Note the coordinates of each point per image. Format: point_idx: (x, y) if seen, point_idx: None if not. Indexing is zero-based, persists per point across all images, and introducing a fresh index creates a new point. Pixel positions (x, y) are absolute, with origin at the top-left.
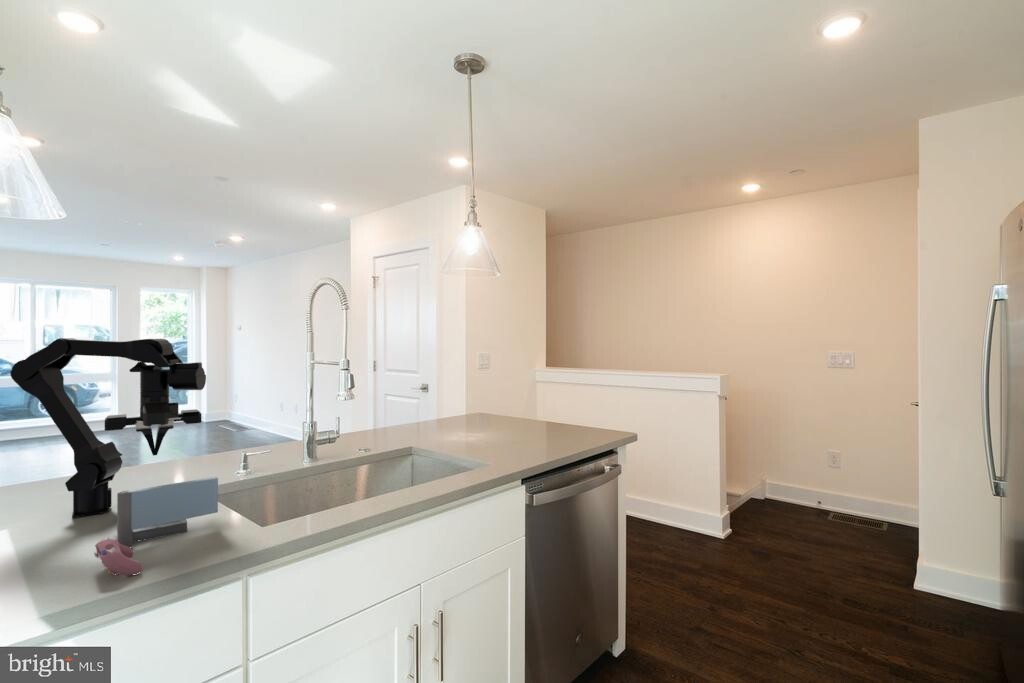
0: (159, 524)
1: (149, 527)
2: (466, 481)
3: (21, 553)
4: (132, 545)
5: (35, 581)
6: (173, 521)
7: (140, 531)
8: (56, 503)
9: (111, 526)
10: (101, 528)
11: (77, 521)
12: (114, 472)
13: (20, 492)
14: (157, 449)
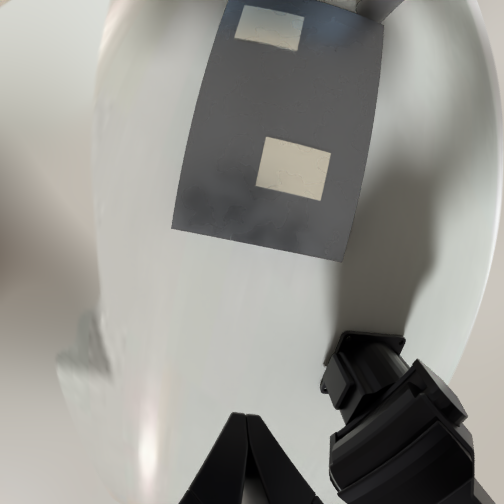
0: (297, 14)
1: (324, 13)
2: None
3: (494, 164)
4: (357, 5)
5: (468, 20)
6: (260, 9)
7: (345, 11)
8: None
9: (373, 193)
10: (392, 197)
11: (405, 306)
12: (355, 429)
13: None
14: (229, 440)
